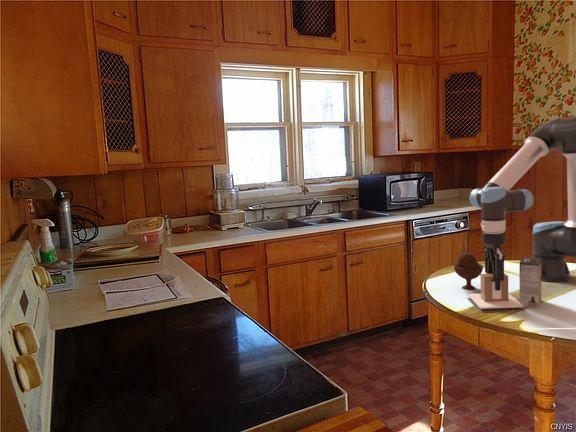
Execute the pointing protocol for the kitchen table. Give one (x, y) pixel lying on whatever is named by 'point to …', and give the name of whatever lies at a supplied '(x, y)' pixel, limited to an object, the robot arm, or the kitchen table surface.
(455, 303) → the kitchen table surface
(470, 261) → the ice cream bowl
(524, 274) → the coffee box
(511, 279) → the kitchen table surface
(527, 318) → the kitchen table surface
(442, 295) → the kitchen table surface
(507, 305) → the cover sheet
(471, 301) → the mat
